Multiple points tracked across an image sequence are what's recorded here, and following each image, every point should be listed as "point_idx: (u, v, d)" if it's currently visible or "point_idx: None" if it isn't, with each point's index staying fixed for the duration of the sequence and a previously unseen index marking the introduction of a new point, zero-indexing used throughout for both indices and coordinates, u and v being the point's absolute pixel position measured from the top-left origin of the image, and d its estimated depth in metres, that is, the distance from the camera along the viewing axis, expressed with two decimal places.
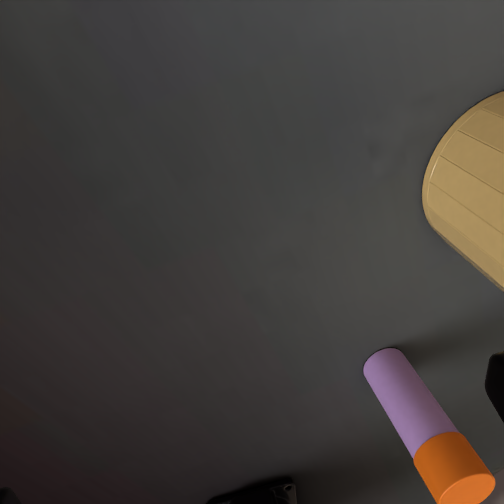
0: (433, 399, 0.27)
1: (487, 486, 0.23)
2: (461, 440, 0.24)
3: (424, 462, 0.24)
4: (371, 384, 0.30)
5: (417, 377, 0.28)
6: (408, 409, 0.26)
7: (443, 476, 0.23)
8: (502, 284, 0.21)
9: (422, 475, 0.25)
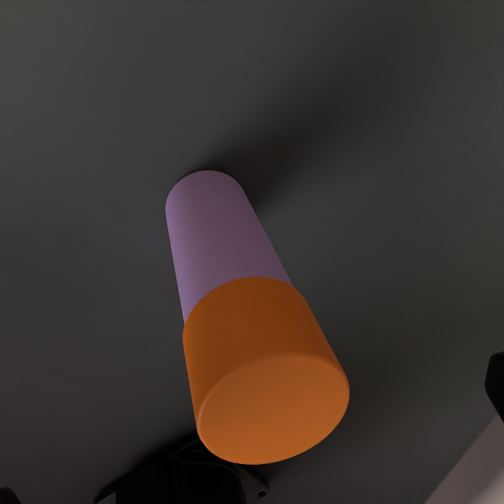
0: (235, 229, 0.12)
1: (316, 380, 0.09)
2: (250, 291, 0.10)
3: (188, 368, 0.10)
4: None
5: (222, 201, 0.14)
6: (182, 266, 0.12)
7: (194, 391, 0.09)
8: None
9: None
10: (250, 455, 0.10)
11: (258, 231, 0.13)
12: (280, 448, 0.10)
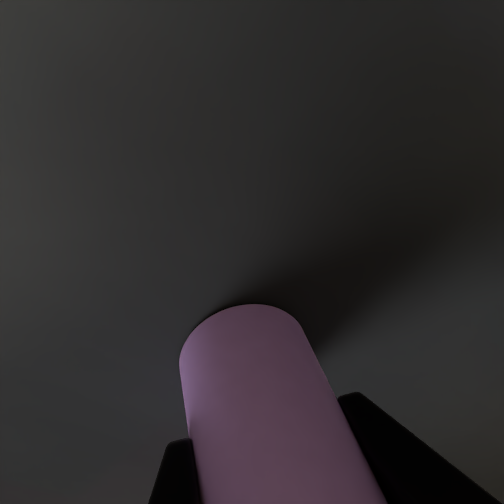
0: (324, 490, 0.06)
1: None
2: None
3: None
4: None
5: (284, 393, 0.08)
6: None
7: None
8: None
9: None
10: None
11: (360, 475, 0.07)
12: None
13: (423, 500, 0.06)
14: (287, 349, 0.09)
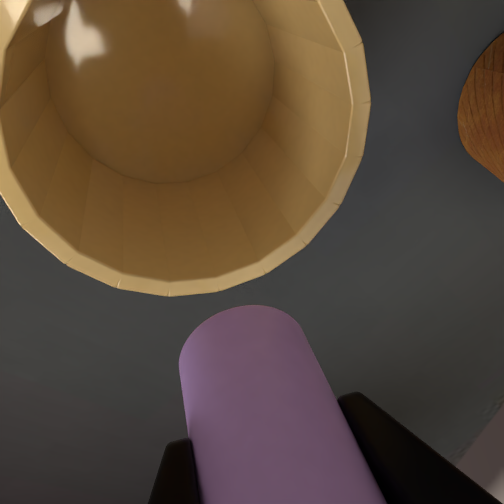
0: (324, 492, 0.06)
1: None
2: None
3: None
4: None
5: (284, 395, 0.08)
6: None
7: None
8: None
9: None
10: None
11: (360, 477, 0.07)
12: None
13: (423, 500, 0.06)
14: (287, 350, 0.09)
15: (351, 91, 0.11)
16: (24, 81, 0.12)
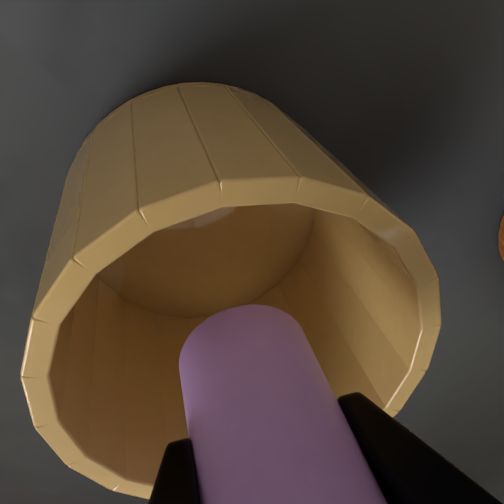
0: (324, 492, 0.06)
1: None
2: None
3: None
4: None
5: (285, 394, 0.08)
6: None
7: None
8: None
9: None
10: None
11: (360, 477, 0.07)
12: None
13: (423, 500, 0.06)
14: (287, 349, 0.09)
15: (422, 318, 0.10)
16: None
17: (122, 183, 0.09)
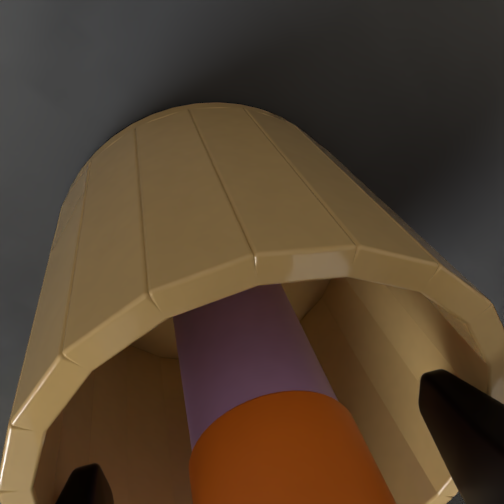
0: (254, 307, 0.10)
1: None
2: (281, 419, 0.07)
3: None
4: None
5: None
6: (186, 356, 0.10)
7: None
8: None
9: None
10: None
11: (282, 306, 0.10)
12: None
13: None
14: None
15: None
16: None
17: (125, 245, 0.07)
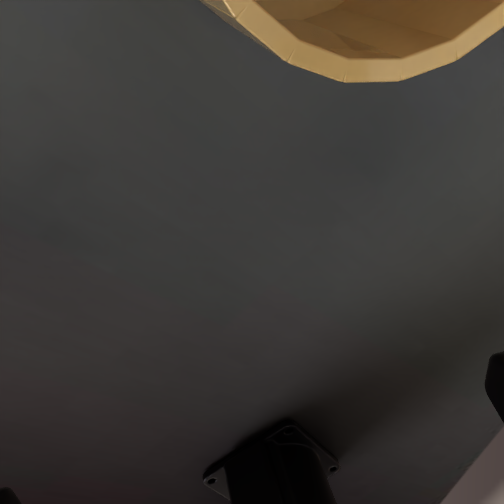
0: None
1: None
2: None
3: None
4: None
5: None
6: None
7: None
8: (266, 48, 0.11)
9: None
10: None
11: None
12: None
13: None
14: None
15: None
16: None
17: None
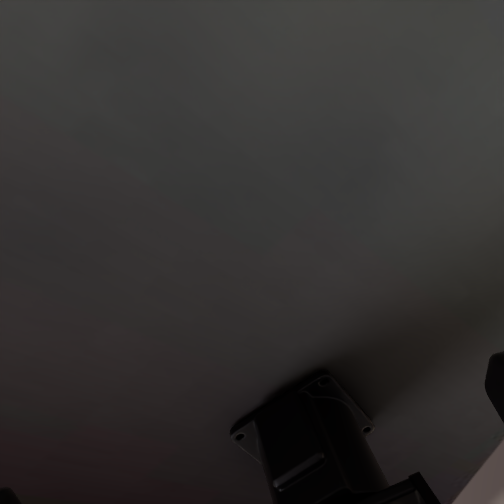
0: None
1: None
2: None
3: None
4: None
5: None
6: None
7: None
8: None
9: None
10: None
11: None
12: None
13: None
14: None
15: None
16: None
17: None
